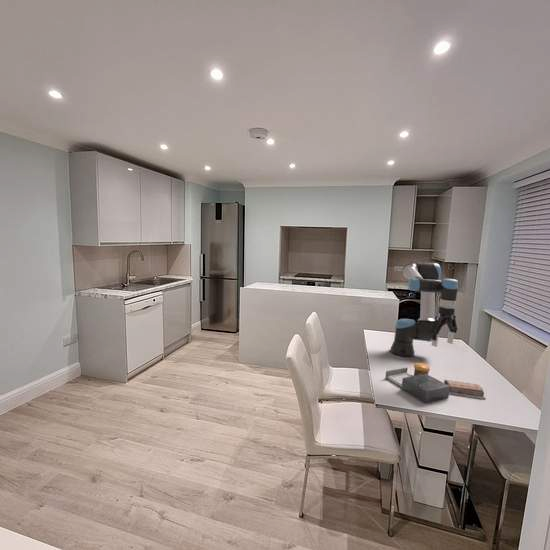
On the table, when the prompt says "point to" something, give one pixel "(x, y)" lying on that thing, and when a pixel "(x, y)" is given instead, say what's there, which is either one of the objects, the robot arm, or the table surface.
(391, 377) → the tray
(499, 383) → the table surface
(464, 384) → the packaged product
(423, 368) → the orange dome cap
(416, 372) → the block
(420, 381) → the housing
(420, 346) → the table surface
